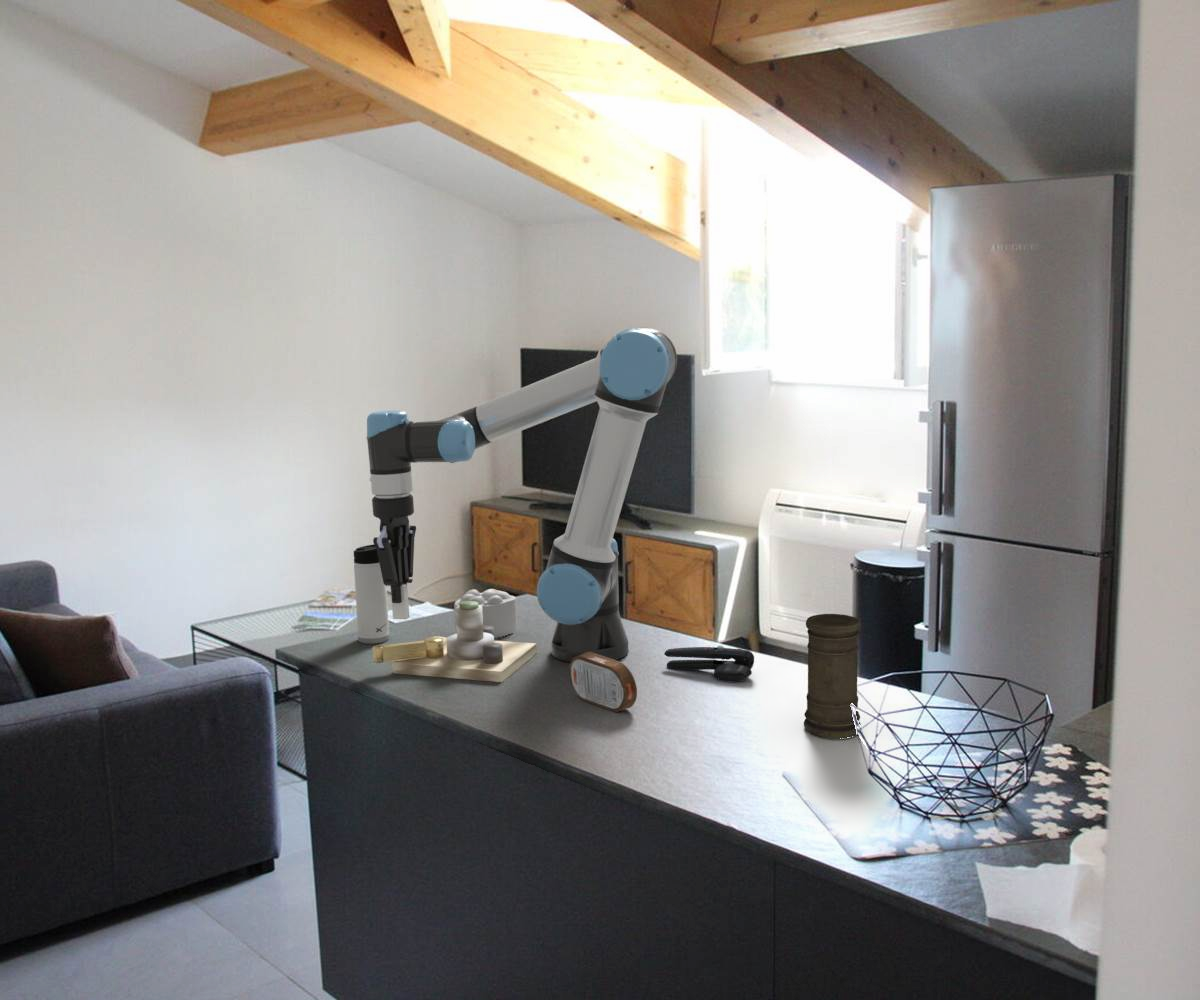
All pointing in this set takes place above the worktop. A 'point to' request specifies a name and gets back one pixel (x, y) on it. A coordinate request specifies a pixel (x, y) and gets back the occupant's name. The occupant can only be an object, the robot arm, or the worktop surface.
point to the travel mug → (370, 597)
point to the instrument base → (469, 667)
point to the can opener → (714, 661)
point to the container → (832, 675)
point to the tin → (603, 681)
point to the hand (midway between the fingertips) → (401, 618)
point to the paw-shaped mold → (494, 610)
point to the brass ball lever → (409, 650)
